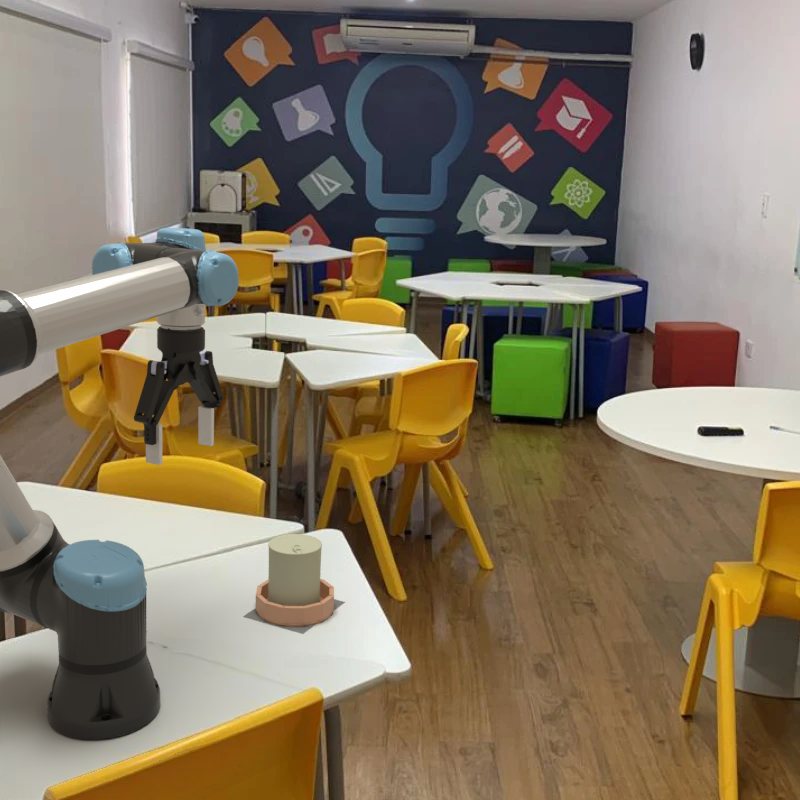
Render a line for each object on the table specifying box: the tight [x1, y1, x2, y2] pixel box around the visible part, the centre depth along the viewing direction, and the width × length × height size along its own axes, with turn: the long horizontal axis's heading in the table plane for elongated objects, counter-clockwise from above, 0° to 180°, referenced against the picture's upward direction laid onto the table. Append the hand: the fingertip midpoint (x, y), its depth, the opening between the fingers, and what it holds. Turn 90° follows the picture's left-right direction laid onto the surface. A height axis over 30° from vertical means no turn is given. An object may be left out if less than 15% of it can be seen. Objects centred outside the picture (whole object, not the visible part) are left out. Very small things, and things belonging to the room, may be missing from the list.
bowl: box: [255, 578, 335, 627], centre depth 169 cm, size 13×13×3 cm
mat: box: [242, 598, 346, 635], centre depth 169 cm, size 14×12×1 cm
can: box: [267, 533, 323, 606], centre depth 168 cm, size 9×9×12 cm
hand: (181, 453), depth 161 cm, fingers open, 13 cm apart
